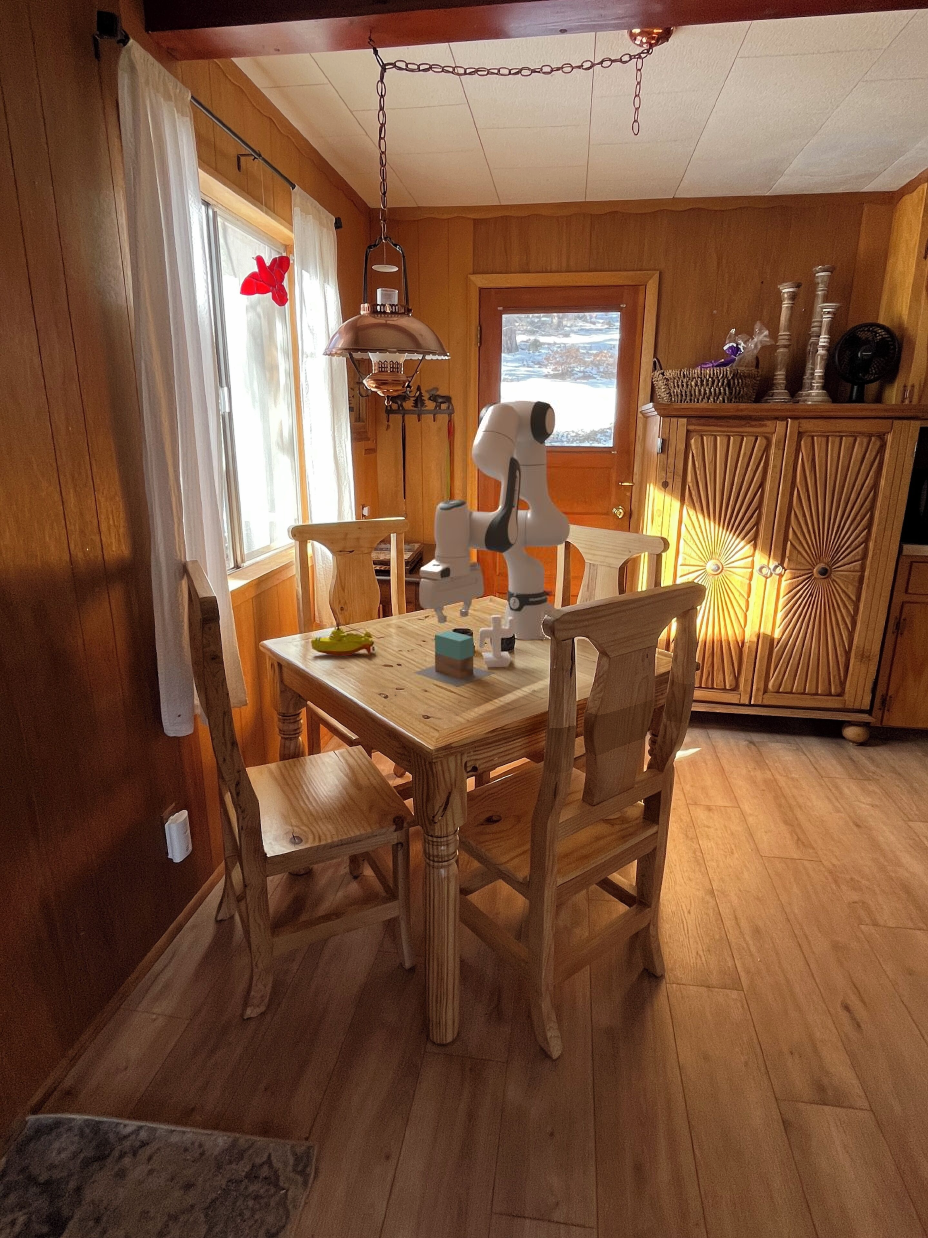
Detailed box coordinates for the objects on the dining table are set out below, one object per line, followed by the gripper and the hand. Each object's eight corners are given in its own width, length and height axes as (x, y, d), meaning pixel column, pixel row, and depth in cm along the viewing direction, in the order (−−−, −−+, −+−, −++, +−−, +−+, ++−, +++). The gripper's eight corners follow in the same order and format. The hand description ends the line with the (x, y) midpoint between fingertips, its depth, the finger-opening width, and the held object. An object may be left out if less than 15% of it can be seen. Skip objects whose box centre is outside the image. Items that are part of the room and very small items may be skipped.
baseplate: (451, 665, 193) (451, 660, 193) (494, 678, 182) (495, 672, 182) (413, 678, 183) (413, 672, 183) (457, 692, 173) (457, 686, 172)
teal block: (448, 648, 186) (448, 630, 185) (473, 655, 180) (473, 637, 179) (435, 653, 182) (434, 634, 181) (460, 660, 176) (459, 641, 175)
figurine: (477, 665, 193) (477, 612, 189) (511, 664, 194) (511, 611, 190) (480, 674, 186) (480, 619, 182) (515, 672, 187) (516, 618, 183)
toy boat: (374, 657, 201) (372, 623, 198) (310, 659, 199) (308, 625, 197) (375, 650, 207) (373, 618, 204) (313, 652, 206) (311, 619, 203)
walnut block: (448, 666, 187) (448, 648, 186) (473, 674, 181) (473, 655, 180) (435, 671, 184) (434, 653, 182) (460, 679, 178) (459, 660, 176)
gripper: (471, 559, 185) (471, 609, 188) (414, 570, 170) (416, 625, 174) (489, 561, 180) (489, 613, 184) (432, 573, 166) (433, 629, 170)
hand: (453, 619), depth 179 cm, fingers open, 7 cm apart
